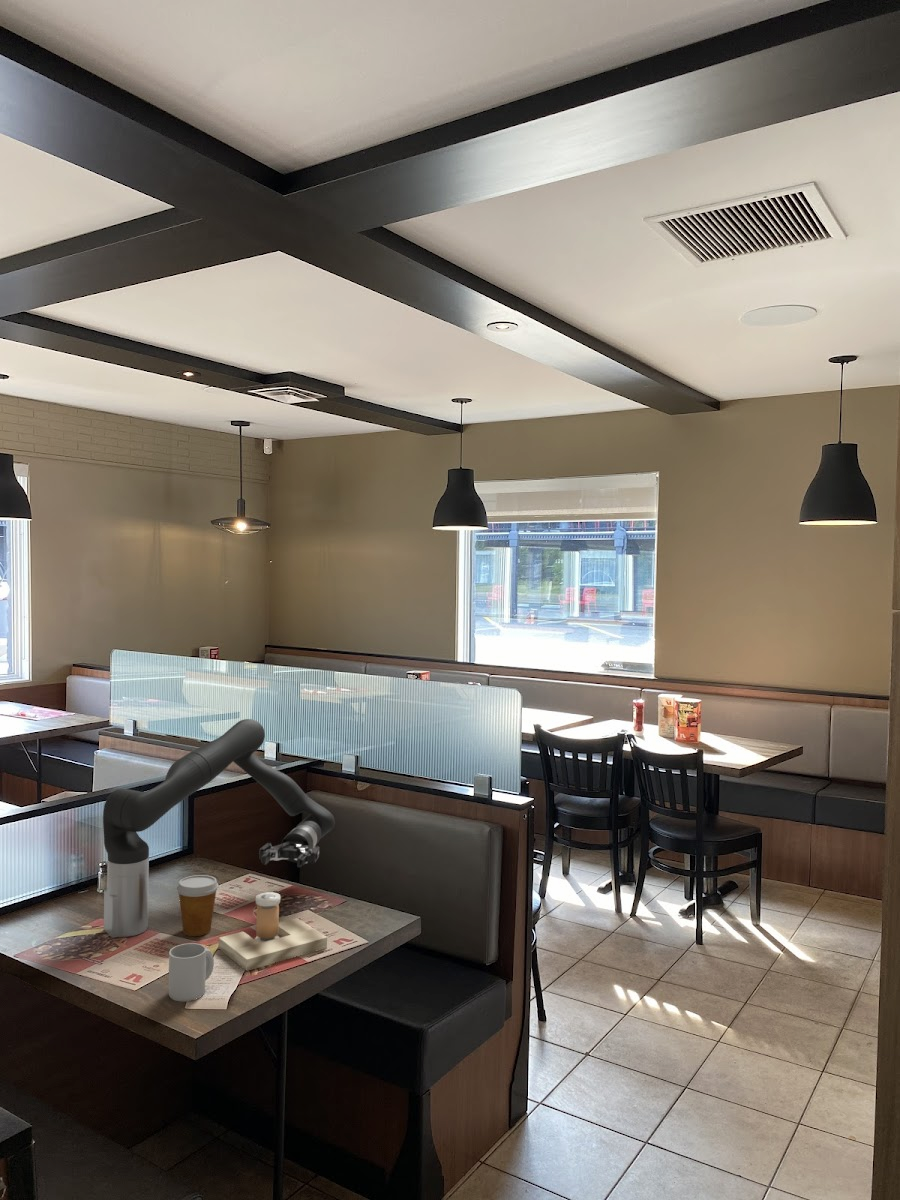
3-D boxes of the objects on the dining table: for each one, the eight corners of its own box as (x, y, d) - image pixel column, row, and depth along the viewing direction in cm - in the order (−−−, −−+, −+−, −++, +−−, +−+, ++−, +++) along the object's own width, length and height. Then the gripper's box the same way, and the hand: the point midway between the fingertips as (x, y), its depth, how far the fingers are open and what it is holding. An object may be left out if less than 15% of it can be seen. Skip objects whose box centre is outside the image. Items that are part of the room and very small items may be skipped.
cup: (161, 994, 183) (161, 951, 183) (201, 977, 191) (202, 936, 191) (183, 1006, 179) (183, 961, 178) (223, 988, 187) (224, 945, 186)
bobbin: (261, 950, 205) (262, 903, 204) (250, 942, 209) (251, 895, 209) (283, 944, 208) (284, 897, 208) (272, 936, 213) (273, 890, 212)
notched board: (246, 970, 195) (246, 959, 195) (218, 948, 206) (218, 937, 205) (326, 948, 207) (327, 937, 207) (296, 927, 218) (296, 917, 218)
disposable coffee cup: (226, 927, 217) (226, 878, 217) (199, 942, 209) (200, 891, 208) (194, 920, 221) (195, 871, 221) (167, 934, 213) (168, 883, 212)
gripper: (273, 826, 236) (253, 844, 219) (327, 830, 234) (310, 848, 218) (272, 855, 236) (252, 875, 220) (326, 859, 234) (309, 879, 218)
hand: (281, 861), depth 219 cm, fingers open, 8 cm apart
